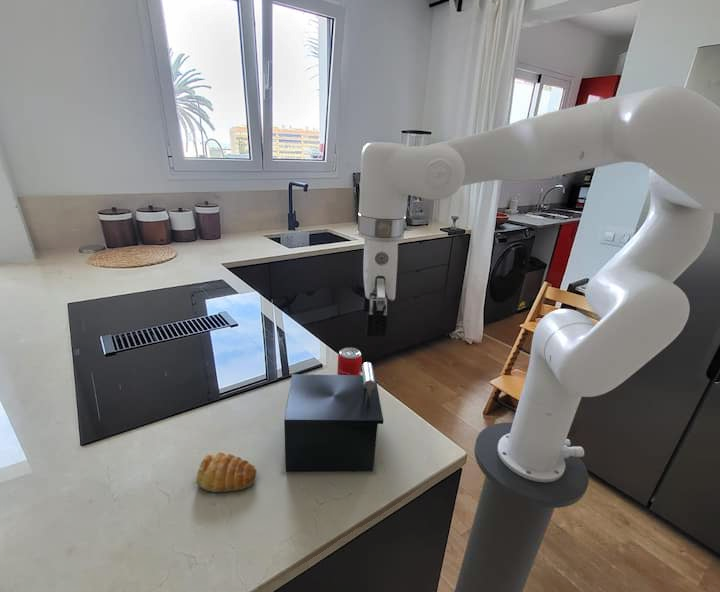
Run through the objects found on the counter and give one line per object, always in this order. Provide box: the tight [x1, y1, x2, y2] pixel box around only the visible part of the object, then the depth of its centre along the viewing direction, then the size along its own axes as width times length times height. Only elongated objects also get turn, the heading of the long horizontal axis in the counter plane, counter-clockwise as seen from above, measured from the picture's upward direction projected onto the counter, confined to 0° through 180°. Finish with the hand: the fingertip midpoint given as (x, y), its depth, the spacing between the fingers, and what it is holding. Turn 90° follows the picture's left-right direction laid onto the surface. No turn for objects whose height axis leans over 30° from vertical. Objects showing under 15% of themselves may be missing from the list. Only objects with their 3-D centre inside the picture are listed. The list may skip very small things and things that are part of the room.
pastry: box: [195, 452, 257, 493], centre depth 66 cm, size 9×7×4 cm
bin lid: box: [283, 361, 384, 425], centre depth 70 cm, size 16×14×6 cm
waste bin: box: [283, 423, 379, 473], centre depth 74 cm, size 16×14×11 cm
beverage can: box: [336, 347, 363, 375], centre depth 87 cm, size 5×5×12 cm
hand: (373, 322), depth 70 cm, fingers open, 9 cm apart
